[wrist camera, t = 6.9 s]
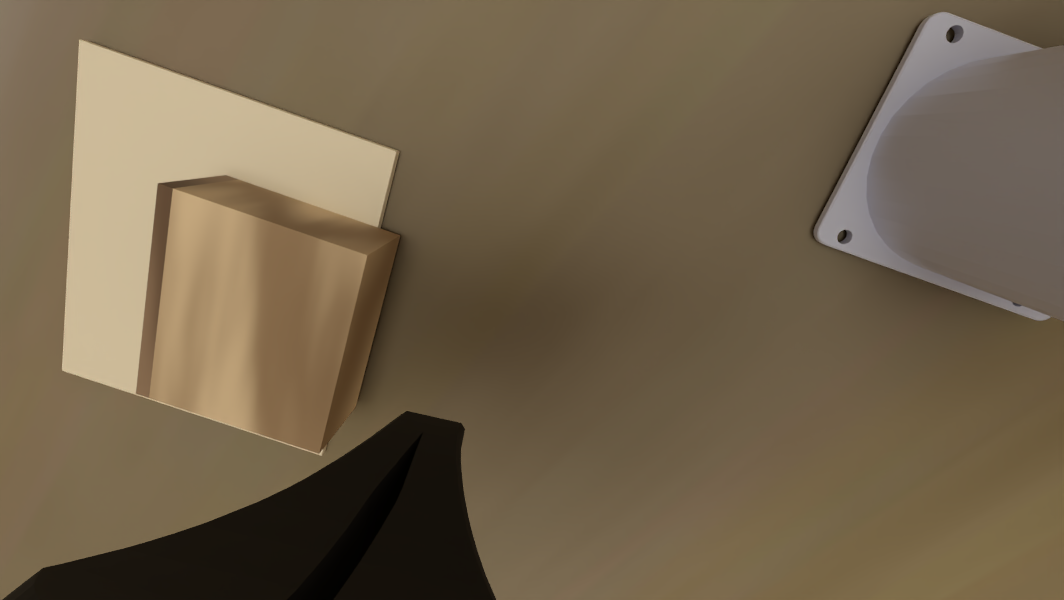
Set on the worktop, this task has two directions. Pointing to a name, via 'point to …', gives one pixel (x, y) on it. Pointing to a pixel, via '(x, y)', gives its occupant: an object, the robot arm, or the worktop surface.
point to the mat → (173, 155)
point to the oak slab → (260, 308)
